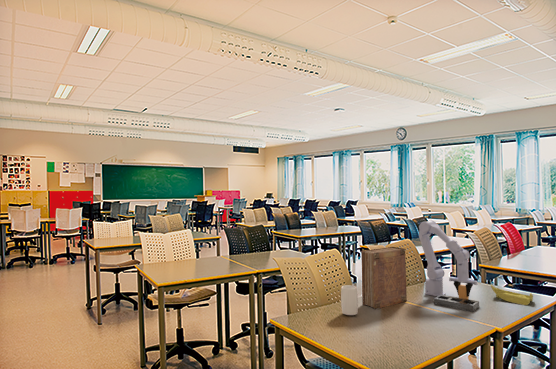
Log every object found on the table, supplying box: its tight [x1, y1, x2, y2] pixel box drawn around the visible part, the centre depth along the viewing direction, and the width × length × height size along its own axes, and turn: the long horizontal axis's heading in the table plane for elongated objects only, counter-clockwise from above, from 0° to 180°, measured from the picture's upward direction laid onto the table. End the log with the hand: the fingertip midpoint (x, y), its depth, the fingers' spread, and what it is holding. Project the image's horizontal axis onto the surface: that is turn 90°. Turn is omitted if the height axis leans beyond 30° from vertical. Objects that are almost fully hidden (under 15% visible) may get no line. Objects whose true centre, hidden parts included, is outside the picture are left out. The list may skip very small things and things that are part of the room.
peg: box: [458, 284, 470, 300], centre depth 206 cm, size 4×4×8 cm
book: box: [360, 246, 408, 310], centre depth 205 cm, size 25×9×30 cm, turn 121°
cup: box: [340, 284, 359, 316], centre depth 187 cm, size 8×8×14 cm
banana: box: [490, 284, 534, 306], centre depth 205 cm, size 20×7×10 cm
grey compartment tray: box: [433, 294, 480, 313], centre depth 198 cm, size 20×10×3 cm, turn 45°
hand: (463, 295), depth 206 cm, fingers closed on peg, 4 cm apart
